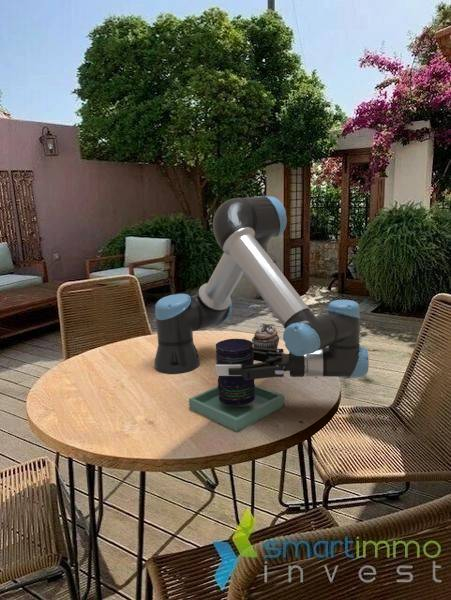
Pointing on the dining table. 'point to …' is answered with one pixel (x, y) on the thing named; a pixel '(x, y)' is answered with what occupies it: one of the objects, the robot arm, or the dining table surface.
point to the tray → (236, 407)
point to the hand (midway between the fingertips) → (218, 362)
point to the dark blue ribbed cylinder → (235, 387)
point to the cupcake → (266, 337)
